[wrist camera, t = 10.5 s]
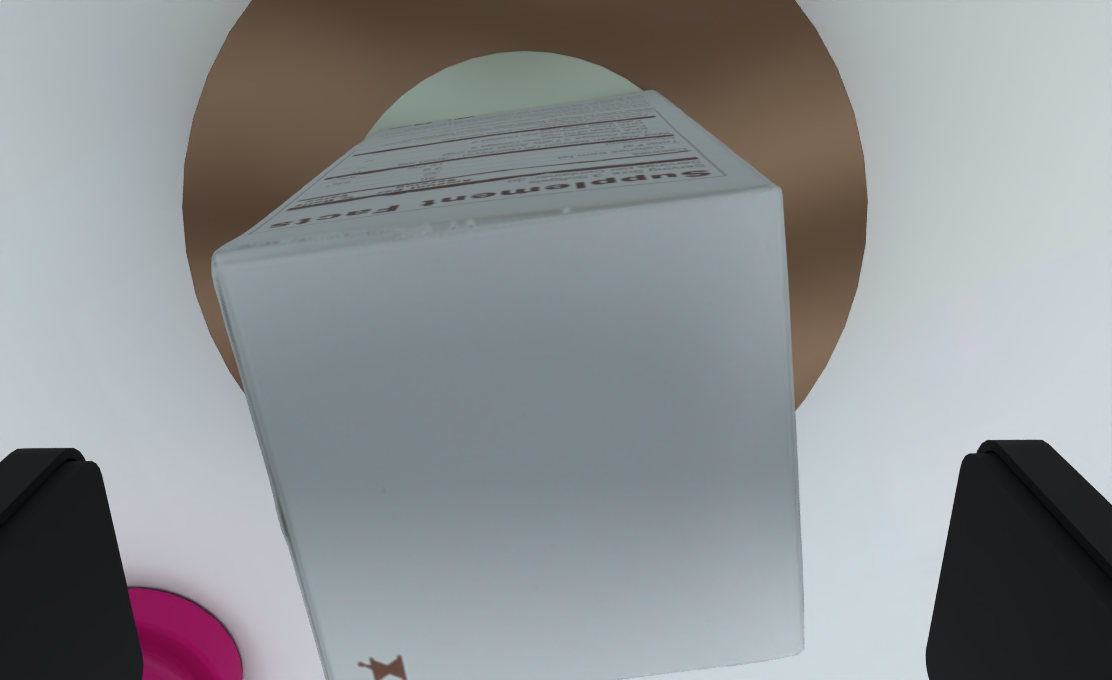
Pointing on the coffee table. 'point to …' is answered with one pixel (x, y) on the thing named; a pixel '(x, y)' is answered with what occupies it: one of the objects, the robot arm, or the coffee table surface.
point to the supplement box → (529, 397)
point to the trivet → (525, 82)
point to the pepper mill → (181, 639)
